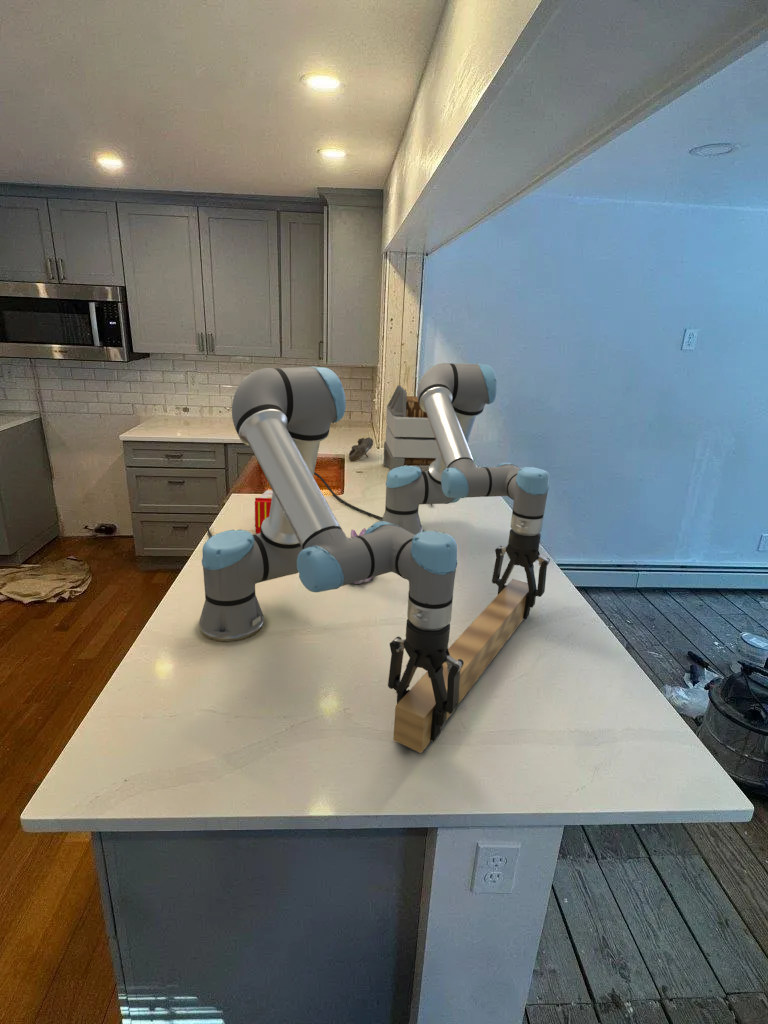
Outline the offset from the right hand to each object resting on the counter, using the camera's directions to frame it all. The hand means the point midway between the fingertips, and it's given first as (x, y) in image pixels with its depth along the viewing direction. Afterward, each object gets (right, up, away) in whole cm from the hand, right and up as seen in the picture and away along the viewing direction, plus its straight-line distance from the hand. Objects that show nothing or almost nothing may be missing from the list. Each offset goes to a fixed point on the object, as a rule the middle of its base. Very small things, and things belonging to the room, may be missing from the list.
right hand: (513, 612), depth 148 cm
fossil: (-46, +55, +152) cm, 168 cm away
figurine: (-41, +7, +19) cm, 45 cm away
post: (-14, -7, -21) cm, 26 cm away
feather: (-14, +33, +94) cm, 100 cm away
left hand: (-27, -14, -42) cm, 52 cm away
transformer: (-17, +45, +127) cm, 136 cm away
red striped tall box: (-73, +22, +56) cm, 95 cm away
